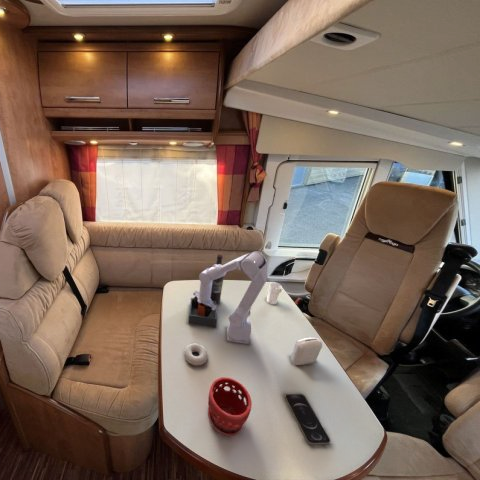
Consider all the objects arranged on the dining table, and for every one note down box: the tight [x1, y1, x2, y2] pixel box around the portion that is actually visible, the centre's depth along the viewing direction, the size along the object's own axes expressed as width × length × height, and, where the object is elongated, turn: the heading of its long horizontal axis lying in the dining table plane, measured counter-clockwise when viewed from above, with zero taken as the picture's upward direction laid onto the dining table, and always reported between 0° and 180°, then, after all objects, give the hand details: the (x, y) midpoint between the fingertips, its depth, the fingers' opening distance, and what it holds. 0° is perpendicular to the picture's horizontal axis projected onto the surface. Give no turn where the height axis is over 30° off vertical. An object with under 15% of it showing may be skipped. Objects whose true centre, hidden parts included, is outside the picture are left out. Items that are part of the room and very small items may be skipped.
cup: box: [266, 281, 283, 305], centre depth 132 cm, size 7×7×11 cm
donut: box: [183, 343, 208, 366], centre depth 100 cm, size 10×4×10 cm
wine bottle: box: [210, 254, 225, 306], centre depth 127 cm, size 7×7×30 cm
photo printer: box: [290, 337, 323, 366], centre depth 97 cm, size 10×4×12 cm, turn 100°
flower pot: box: [207, 376, 253, 437], centre depth 77 cm, size 13×13×12 cm
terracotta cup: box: [197, 302, 207, 316], centre depth 121 cm, size 5×5×8 cm
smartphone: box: [284, 393, 331, 446], centre depth 80 cm, size 8×1×15 cm
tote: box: [187, 297, 218, 329], centre depth 122 cm, size 14×14×5 cm
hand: (202, 312), depth 122 cm, fingers open, 6 cm apart
